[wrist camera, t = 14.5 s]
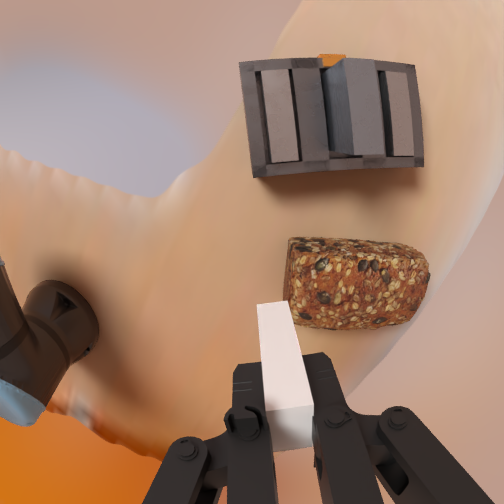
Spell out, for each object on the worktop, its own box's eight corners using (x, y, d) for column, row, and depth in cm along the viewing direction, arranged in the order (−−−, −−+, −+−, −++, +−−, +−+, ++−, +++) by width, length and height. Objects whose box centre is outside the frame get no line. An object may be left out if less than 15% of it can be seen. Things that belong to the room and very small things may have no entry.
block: (317, 77, 30) (343, 57, 21) (341, 77, 30) (373, 59, 21) (325, 150, 34) (354, 155, 24) (349, 149, 34) (384, 154, 24)
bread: (405, 239, 41) (440, 265, 32) (389, 301, 45) (416, 336, 36) (285, 229, 41) (297, 258, 31) (277, 299, 44) (285, 340, 35)
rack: (252, 172, 37) (253, 179, 31) (239, 69, 33) (238, 55, 26) (401, 162, 37) (428, 168, 30) (392, 68, 32) (417, 59, 26)
